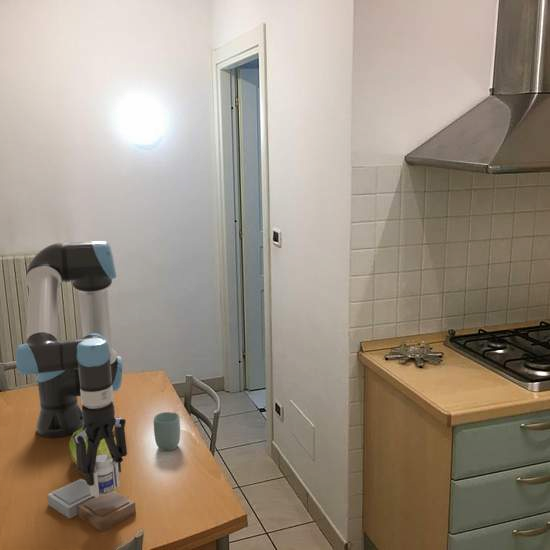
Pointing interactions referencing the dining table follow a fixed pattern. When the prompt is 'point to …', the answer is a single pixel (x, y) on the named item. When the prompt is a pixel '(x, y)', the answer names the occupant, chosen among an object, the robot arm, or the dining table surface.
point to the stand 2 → (106, 510)
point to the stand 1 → (70, 498)
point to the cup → (167, 430)
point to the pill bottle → (105, 475)
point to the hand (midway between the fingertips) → (105, 490)
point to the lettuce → (100, 451)
